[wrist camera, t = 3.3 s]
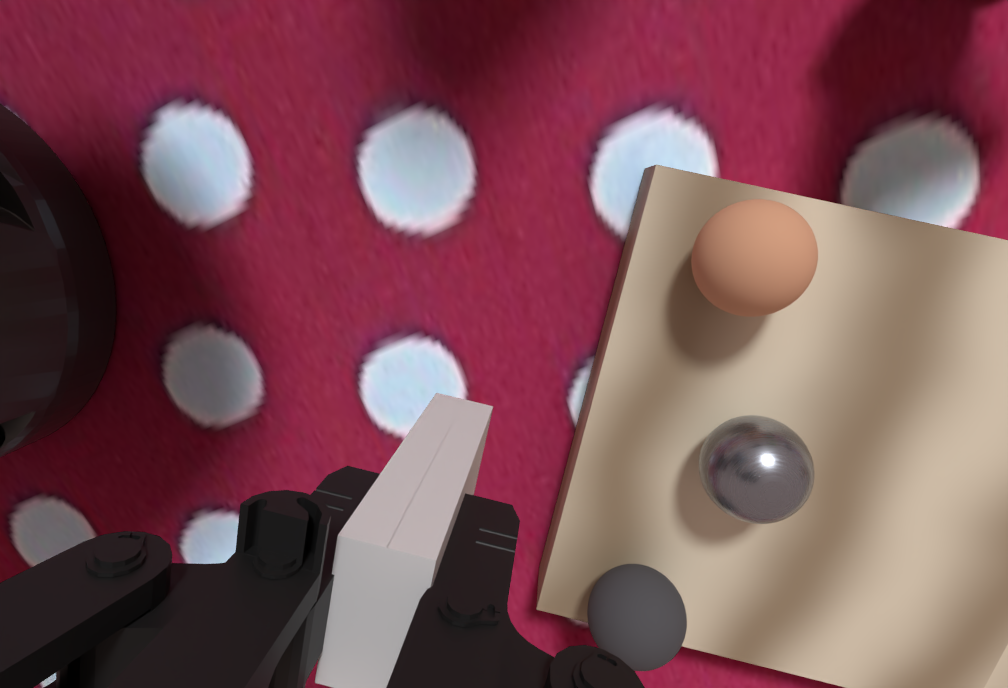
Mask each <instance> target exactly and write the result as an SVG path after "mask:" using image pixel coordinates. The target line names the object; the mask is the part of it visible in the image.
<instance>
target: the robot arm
mask: <svg viewBox="0 0 1008 688" xmlns="http://www.w3.org/2000/svg"><path fill="white" fill-rule="evenodd" d="M115 322H116V297H115V286H114V279H113V273H112V268H111V263H110V259H109V255H108V252H107V248H106V245H105V242H104V239H103V236H102V233H101V230H100V228H99V226H98V223H97V221H96V219H95V216H94V214H93V212H92V210H91V208H90V206H89V204H88V202H87V200H86V198H85V196H84V195H83V193H82V191H81V190H80V188H79V186H78V184H77V183H76V181H75V180H74V178H73V177H72V175H71V174H70V172H69V171H68V170H67V168H66V167H65V166H64V164H63V163H62V162H61V160H60V159H59V158H58V157H57V155H56V154H55V153H54V152H53V151H52V150H51V148H50V147H49V146H48V145H47V144H46V143H45V142H44V141H43V140H42V139H41V138H40V137H39V136H38V135H37V133H35V132H34V131H33V130H32V129H31V128H30V127H29V126H28V125H27V124H26V123H25V122H23V121H22V120H21V119H20V118H18V117H17V116H16V115H15V114H13V113H12V112H11V111H10V110H8V109H7V108H5V107H4V106H3V105H1V104H0V457H2V456H4V455H6V454H8V453H11V452H13V451H15V450H17V449H19V448H21V447H24V446H26V445H28V444H30V443H32V442H34V441H37V440H39V439H41V438H43V437H45V436H48V435H49V434H51V433H53V432H54V431H56V430H58V429H59V428H61V427H62V426H63V425H65V424H66V423H67V422H69V421H70V420H71V419H72V418H73V417H74V416H75V415H76V414H77V413H78V412H79V411H80V410H81V409H82V408H83V407H84V406H85V404H86V403H87V402H88V400H89V399H90V398H91V396H92V395H93V393H94V392H95V390H96V388H97V386H98V385H99V383H100V381H101V379H102V377H103V374H104V372H105V369H106V367H107V364H108V361H109V357H110V354H111V350H112V345H113V340H114V333H115ZM492 409H493V406H489V405H485V404H481V403H477V402H472V401H468V400H464V399H460V398H456V397H452V396H448V395H443V394H439V393H436V394H435V396H434V397H433V399H432V400H431V401H430V403H429V404H428V406H427V407H426V409H425V410H424V412H423V413H422V414H421V416H420V417H419V419H418V420H417V422H416V423H415V425H414V426H413V427H412V429H411V430H410V432H409V433H408V435H407V436H406V438H405V439H404V440H403V442H402V443H401V445H400V446H399V448H398V449H397V451H396V452H395V453H394V455H393V456H392V458H391V459H390V461H389V462H388V464H387V465H386V466H385V468H384V469H383V471H382V472H381V474H378V473H374V472H370V471H366V470H362V469H358V468H354V467H350V466H346V467H344V468H342V469H340V470H338V471H335V472H333V473H331V474H329V475H328V476H327V477H326V478H325V479H324V480H323V481H322V482H321V484H320V485H319V486H318V487H317V489H316V491H314V492H313V493H312V494H311V495H309V494H306V493H303V492H296V491H289V490H283V491H269V492H265V493H262V494H258V495H255V496H252V497H251V498H249V499H247V500H246V501H244V502H243V503H241V505H240V515H239V525H238V534H237V544H236V552H235V553H234V554H233V555H232V556H231V557H230V558H229V559H228V561H227V562H226V563H219V564H181V563H172V552H171V548H170V545H169V544H168V543H167V542H166V541H164V540H163V539H162V538H161V537H159V536H156V535H152V534H149V533H146V532H129V531H123V532H117V533H111V534H105V535H101V536H99V537H96V538H93V539H90V540H88V541H85V542H83V543H80V544H78V545H76V546H74V547H72V548H70V549H68V550H66V551H64V552H62V553H60V554H58V555H56V556H54V557H52V558H50V559H48V560H46V561H44V562H42V563H40V564H38V565H36V566H34V567H32V568H30V569H28V570H25V571H23V572H21V573H19V574H17V575H15V576H13V577H11V578H9V579H7V580H5V581H3V582H1V583H0V688H33V687H35V686H36V685H38V684H39V683H41V682H42V681H44V680H45V679H47V678H48V677H50V676H51V675H53V674H54V673H56V680H55V681H54V682H52V683H51V684H49V685H48V686H46V687H44V688H305V683H306V680H307V678H308V677H309V675H310V673H311V671H312V669H313V667H314V666H315V664H316V662H317V660H318V665H317V672H316V678H315V683H318V684H321V685H325V686H329V687H332V688H645V687H644V686H643V684H642V683H641V681H640V679H639V678H638V676H637V675H636V673H635V671H634V670H632V669H631V668H630V667H629V666H628V665H627V664H626V663H625V662H624V661H623V660H621V659H620V658H619V657H617V656H615V655H613V654H611V653H609V652H607V651H605V650H604V649H600V648H596V647H591V646H587V645H581V646H570V647H568V648H566V649H564V650H562V651H560V652H559V653H557V654H556V656H555V658H554V657H553V656H551V655H549V654H547V653H545V652H544V651H542V650H540V649H538V648H537V647H535V646H534V645H532V644H531V643H529V642H528V641H526V640H525V639H524V638H523V637H522V636H521V635H520V634H519V633H518V632H517V630H516V629H515V627H514V626H513V624H512V623H511V621H510V618H509V615H508V612H507V601H508V595H509V588H510V582H511V575H512V569H513V562H514V555H515V549H516V542H517V536H518V529H519V523H520V520H519V518H518V516H517V514H516V512H515V510H514V508H513V506H512V505H510V504H506V503H502V502H498V501H494V500H490V499H486V498H482V497H478V496H474V491H475V486H476V482H477V477H478V472H479V468H480V463H481V459H482V454H483V450H484V445H485V441H486V436H487V432H488V427H489V423H490V418H491V414H492ZM318 658H319V659H318Z"/></svg>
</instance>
